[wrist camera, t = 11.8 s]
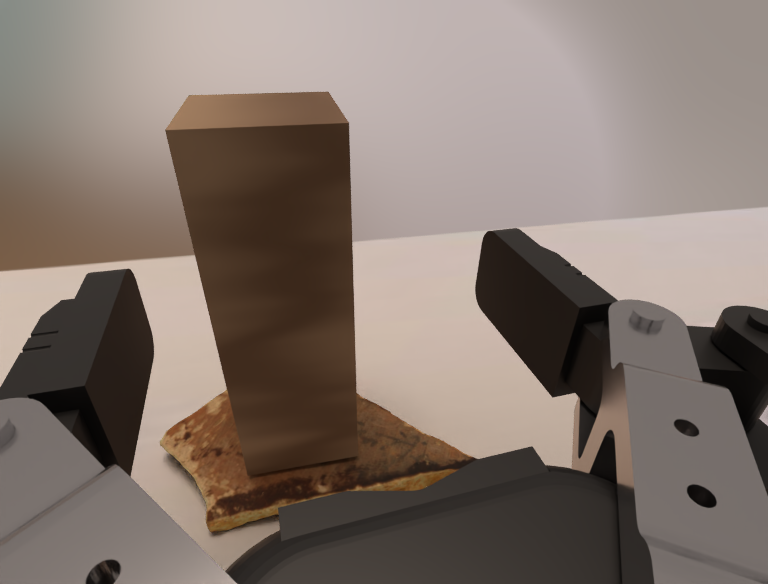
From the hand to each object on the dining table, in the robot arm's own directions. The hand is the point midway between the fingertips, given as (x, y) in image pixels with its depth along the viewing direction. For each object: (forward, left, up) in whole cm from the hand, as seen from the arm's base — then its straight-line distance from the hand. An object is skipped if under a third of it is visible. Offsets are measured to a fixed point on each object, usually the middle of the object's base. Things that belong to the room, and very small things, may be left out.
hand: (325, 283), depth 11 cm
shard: (0, +5, -11) cm, 12 cm away
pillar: (-1, +4, -9) cm, 10 cm away
